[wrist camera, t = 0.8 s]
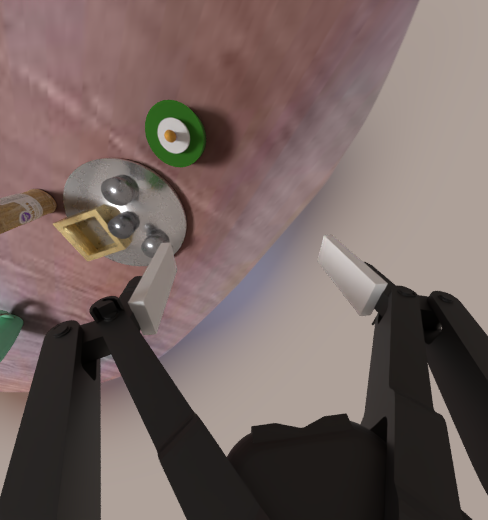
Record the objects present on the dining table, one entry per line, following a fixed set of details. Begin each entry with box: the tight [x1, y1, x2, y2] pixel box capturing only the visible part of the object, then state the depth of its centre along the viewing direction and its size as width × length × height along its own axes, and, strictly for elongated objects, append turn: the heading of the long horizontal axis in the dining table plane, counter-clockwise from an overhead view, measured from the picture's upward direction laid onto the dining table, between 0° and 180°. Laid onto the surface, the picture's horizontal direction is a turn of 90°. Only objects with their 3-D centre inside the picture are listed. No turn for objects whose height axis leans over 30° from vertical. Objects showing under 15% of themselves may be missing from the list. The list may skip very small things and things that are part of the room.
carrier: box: [53, 158, 187, 266], centre depth 37 cm, size 22×22×6 cm
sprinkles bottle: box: [0, 189, 57, 234], centre depth 30 cm, size 5×5×14 cm
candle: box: [145, 100, 206, 167], centre depth 28 cm, size 8×8×10 cm
